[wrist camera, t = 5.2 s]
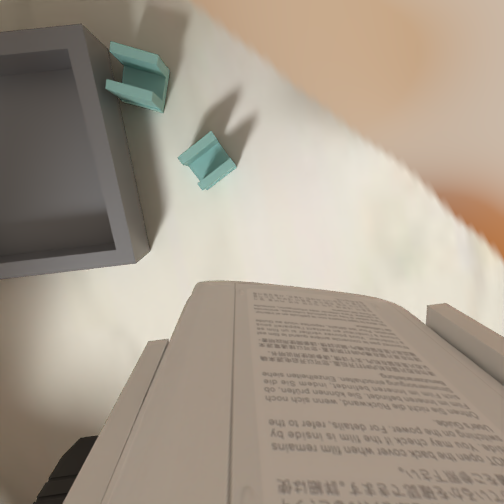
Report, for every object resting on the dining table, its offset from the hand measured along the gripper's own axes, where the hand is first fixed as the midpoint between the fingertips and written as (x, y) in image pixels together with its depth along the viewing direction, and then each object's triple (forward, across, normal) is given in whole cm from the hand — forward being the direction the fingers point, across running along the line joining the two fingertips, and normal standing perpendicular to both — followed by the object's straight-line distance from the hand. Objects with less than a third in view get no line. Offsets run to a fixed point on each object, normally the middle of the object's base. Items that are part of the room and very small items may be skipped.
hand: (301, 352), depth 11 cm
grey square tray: (+15, -18, +9) cm, 25 cm away
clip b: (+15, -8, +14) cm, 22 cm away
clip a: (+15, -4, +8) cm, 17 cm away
